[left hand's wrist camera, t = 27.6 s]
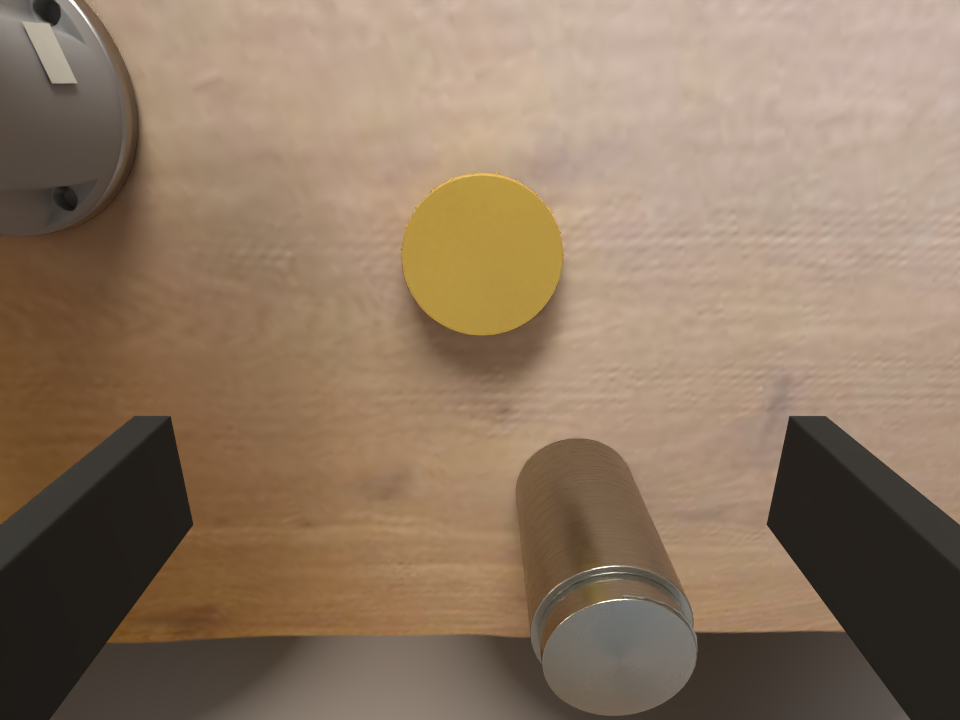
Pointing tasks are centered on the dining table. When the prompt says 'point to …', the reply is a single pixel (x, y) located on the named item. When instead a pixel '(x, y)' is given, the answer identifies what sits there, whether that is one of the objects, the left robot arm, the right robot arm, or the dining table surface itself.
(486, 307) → the lid
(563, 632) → the jar
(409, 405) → the dining table surface
